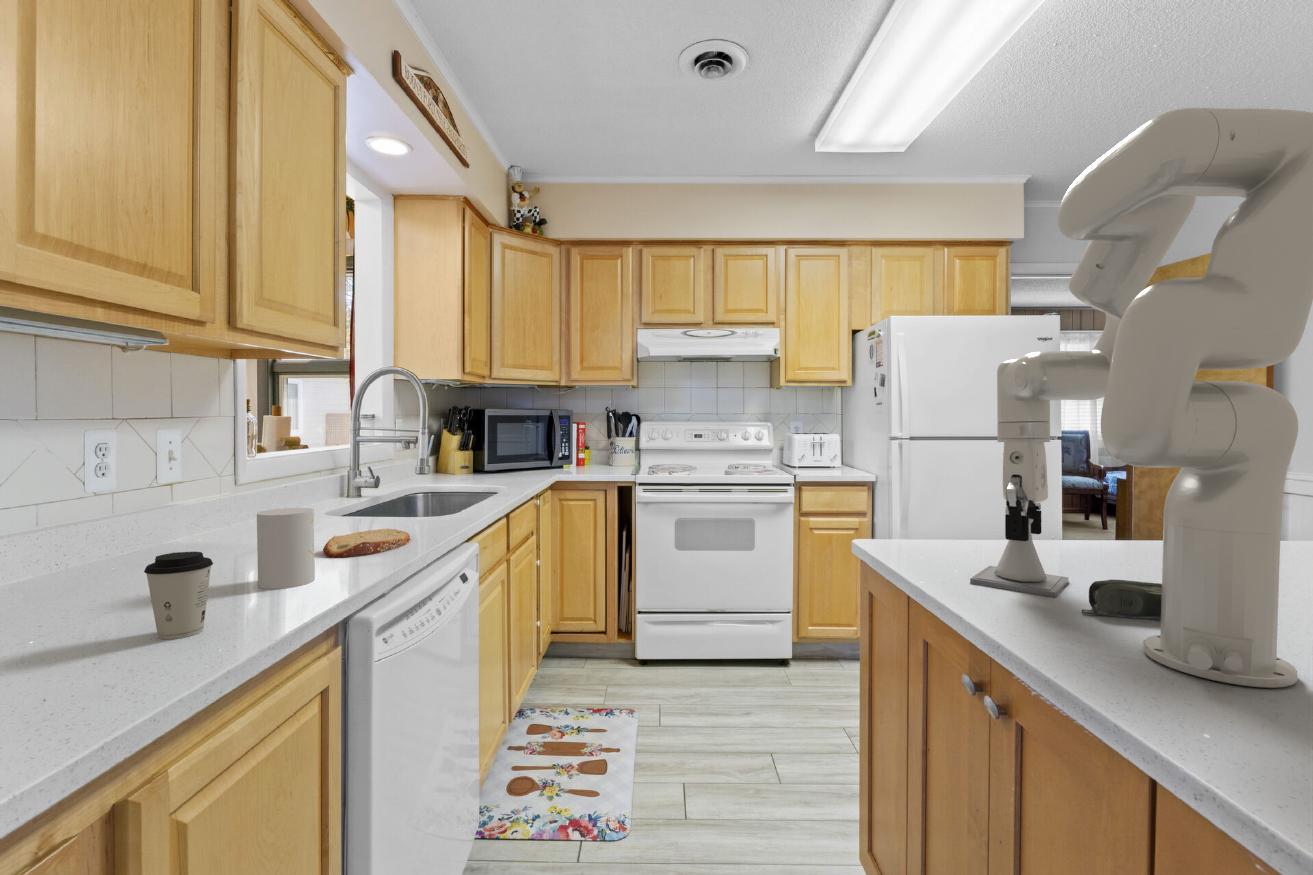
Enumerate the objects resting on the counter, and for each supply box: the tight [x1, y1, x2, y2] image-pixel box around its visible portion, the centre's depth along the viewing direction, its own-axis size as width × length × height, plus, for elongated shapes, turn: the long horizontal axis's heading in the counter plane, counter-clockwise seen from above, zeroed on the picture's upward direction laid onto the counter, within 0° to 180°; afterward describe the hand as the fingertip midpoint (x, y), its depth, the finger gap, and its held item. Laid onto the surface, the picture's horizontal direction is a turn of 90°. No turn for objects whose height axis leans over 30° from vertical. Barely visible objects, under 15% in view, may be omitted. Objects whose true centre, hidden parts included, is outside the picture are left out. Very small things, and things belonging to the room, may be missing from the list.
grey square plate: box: [969, 565, 1069, 598], centre depth 101 cm, size 12×12×1 cm
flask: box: [994, 518, 1047, 582], centre depth 101 cm, size 7×7×10 cm
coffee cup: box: [143, 551, 214, 640], centre depth 77 cm, size 7×7×10 cm
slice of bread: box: [322, 528, 411, 559], centre depth 130 cm, size 18×18×4 cm
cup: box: [256, 507, 316, 590], centre depth 101 cm, size 8×8×12 cm
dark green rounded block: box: [1081, 579, 1162, 621], centre depth 84 cm, size 5×3×15 cm
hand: (1023, 536), depth 100 cm, fingers open, 9 cm apart
